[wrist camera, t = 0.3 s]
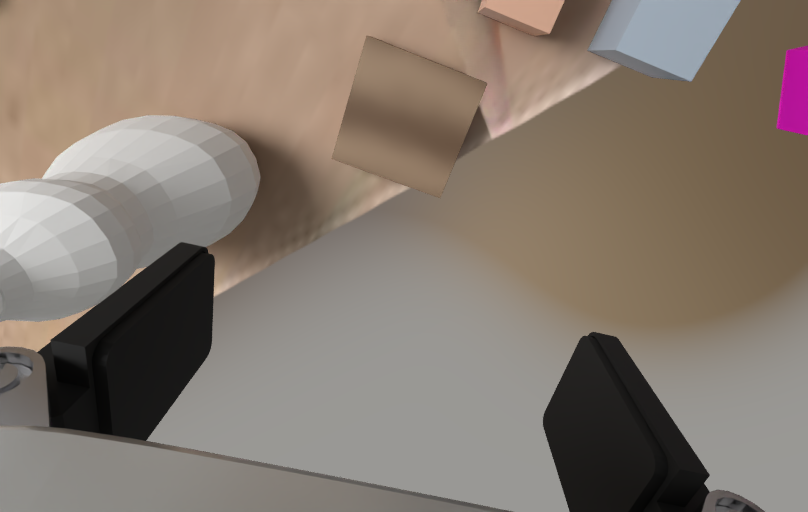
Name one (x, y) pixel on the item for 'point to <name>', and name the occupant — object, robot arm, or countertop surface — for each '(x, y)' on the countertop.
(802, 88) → the toy block
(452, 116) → the walnut base plate
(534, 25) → the terracotta cube
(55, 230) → the soap bottle
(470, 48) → the countertop surface
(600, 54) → the slate block
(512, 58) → the countertop surface
